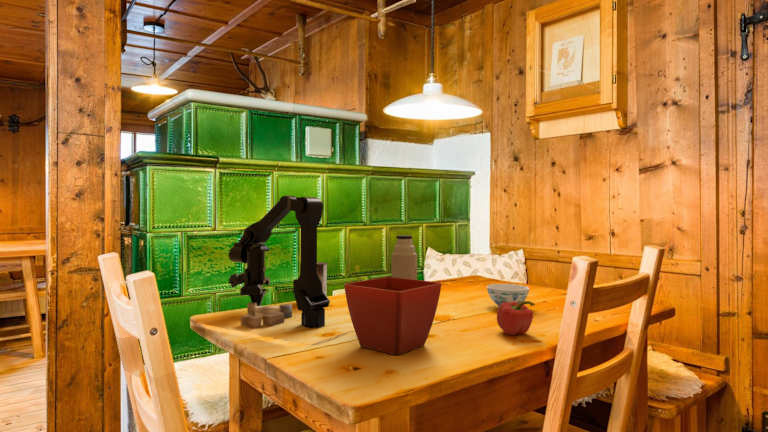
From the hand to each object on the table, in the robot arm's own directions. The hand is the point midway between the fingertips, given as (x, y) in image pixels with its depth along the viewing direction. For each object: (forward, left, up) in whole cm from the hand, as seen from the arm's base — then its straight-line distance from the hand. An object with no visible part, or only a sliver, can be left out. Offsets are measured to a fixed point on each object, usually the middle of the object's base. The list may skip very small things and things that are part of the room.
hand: (256, 311), depth 160 cm
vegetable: (-78, -27, -2) cm, 83 cm away
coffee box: (-3, -25, -2) cm, 25 cm away
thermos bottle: (-45, -19, -2) cm, 49 cm away
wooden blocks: (-11, +8, -2) cm, 14 cm away
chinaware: (-65, -61, -2) cm, 89 cm away
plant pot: (-54, +3, -2) cm, 55 cm away
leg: (-6, 0, -1) cm, 6 cm away
